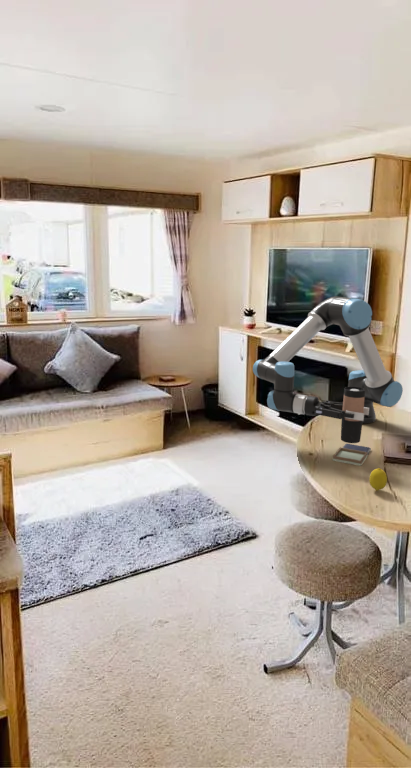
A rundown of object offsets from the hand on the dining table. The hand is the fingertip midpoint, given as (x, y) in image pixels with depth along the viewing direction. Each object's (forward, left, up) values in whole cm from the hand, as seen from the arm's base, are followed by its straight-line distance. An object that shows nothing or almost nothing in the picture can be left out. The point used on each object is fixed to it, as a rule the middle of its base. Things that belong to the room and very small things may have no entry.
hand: (366, 414), depth 206 cm
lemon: (+24, +10, -18) cm, 32 cm away
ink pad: (-9, -5, -18) cm, 21 cm away
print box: (0, -5, -18) cm, 19 cm away
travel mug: (0, -5, -11) cm, 12 cm away
